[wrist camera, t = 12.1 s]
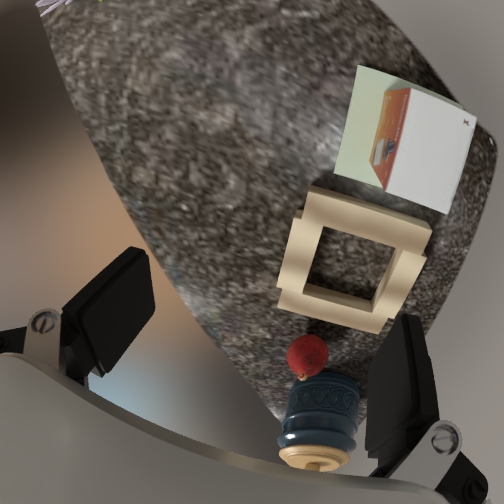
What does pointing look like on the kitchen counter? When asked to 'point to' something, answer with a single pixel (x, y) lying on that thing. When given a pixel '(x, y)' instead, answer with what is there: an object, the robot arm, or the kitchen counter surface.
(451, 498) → the robot arm
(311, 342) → the red round piece
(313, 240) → the wooden square frame
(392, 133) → the small box
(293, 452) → the canister
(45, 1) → the water lily
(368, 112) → the pad
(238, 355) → the kitchen counter surface
